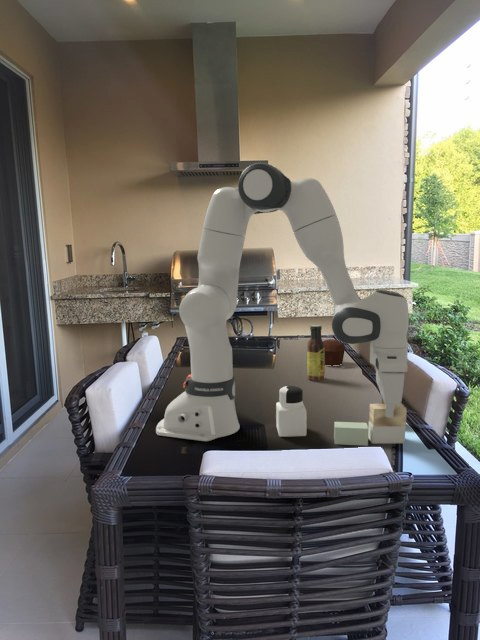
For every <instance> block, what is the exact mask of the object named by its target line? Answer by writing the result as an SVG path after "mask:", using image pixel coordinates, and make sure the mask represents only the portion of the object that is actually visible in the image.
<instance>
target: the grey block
mask: <svg viewBox="0 0 480 640" xmlns="http://www.w3.org/2000/svg"><path fill="white" fill-rule="evenodd" d="M405 439H406V426H381V427H373V425H372V424H371V422H370V421H369V420H368V440H369V441H370V443H371V444H405V442H406V440H405Z"/></svg>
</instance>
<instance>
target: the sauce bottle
mask: <svg viewBox="0 0 480 640" xmlns="http://www.w3.org/2000/svg"><path fill="white" fill-rule="evenodd" d="M309 327H310V328H309V329H310V339H309V341H308V342H307V353H306V354H307V355H306V356H307V357H306V361H307V362H306V364H307V365H306V366H307V369H306V370H307V373H306V375H307V380H309V381H312V382H320V381H323V380H324V379H325V373H326V371H325V370H326V369H325V367H326V366H325V347H324V344H323V341H324V340H323V339H322V329H323V328H322V325H321V324H311V325H310V326H309Z"/></svg>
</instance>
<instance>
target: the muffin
mask: <svg viewBox="0 0 480 640" xmlns="http://www.w3.org/2000/svg"><path fill="white" fill-rule="evenodd" d="M322 341H323V344H324V347H325V365H331V366H333V365H340V364H342V365H343V362H344V358H345V356H344V355H345V351H346V350H347V347H346V345H345V343H344V342H342V341H340V340H339V339H335V338H333V339H332V338H330V339H325V340H322ZM340 366H341V365H340Z"/></svg>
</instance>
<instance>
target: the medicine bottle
mask: <svg viewBox="0 0 480 640" xmlns="http://www.w3.org/2000/svg"><path fill="white" fill-rule="evenodd" d="M278 395H279V399H278V400H279V401H277V402H276V404H275V406H276V407H275V410H276V412H275V419H276V421H275V422H276V423H275V424H276V429H277V433H278V437H279V438H281V437H282V438H283V437H284V438H287V437H306V436H307V426H308V425H307V422H308V421H307V417H308V416H307V415H308V413H307V411H308V410H307V409H306V407H305V405H304V403H303V400H304V399H303V396H304V395H303V389H302V388H301V387H299V386H295V385H285V386H282V387H281V388H280V389H279V393H278Z"/></svg>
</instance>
